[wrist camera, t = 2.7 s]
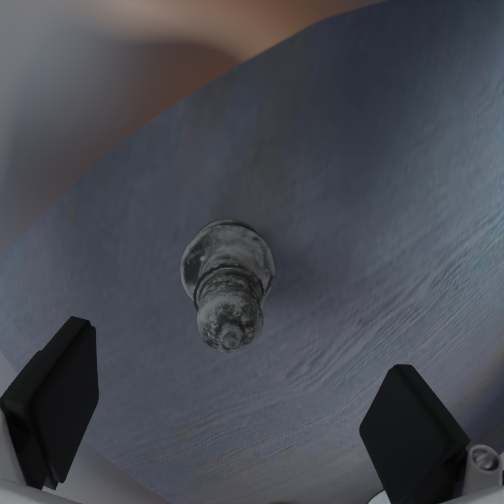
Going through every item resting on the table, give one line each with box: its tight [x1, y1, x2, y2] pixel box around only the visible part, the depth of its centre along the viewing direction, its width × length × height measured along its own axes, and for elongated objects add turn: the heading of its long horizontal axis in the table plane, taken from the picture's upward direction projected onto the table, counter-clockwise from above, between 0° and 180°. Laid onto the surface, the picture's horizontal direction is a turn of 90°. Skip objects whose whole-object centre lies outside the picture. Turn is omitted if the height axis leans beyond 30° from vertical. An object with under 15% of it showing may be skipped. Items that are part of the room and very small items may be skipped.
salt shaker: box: [180, 220, 276, 353], centre depth 18 cm, size 6×6×12 cm
